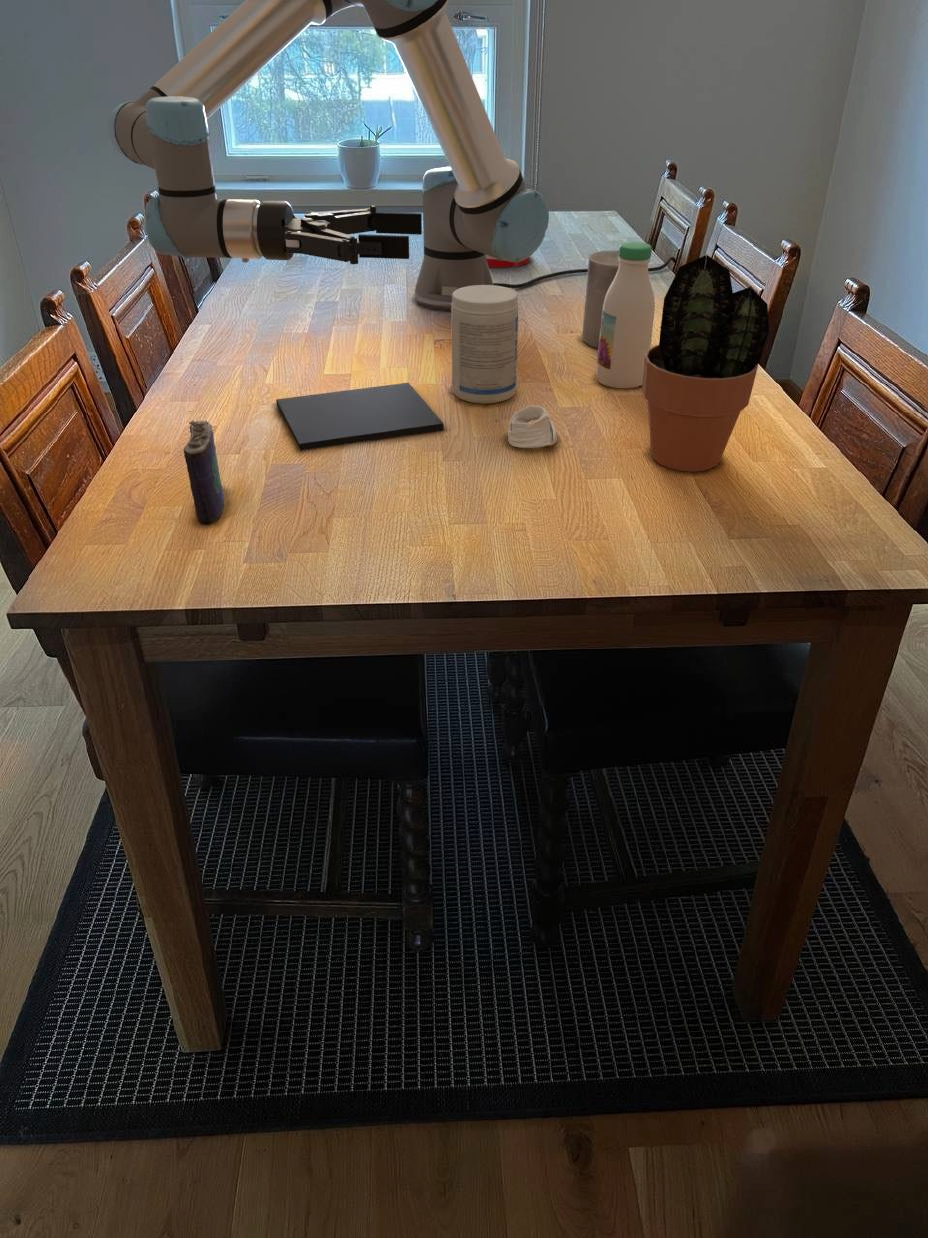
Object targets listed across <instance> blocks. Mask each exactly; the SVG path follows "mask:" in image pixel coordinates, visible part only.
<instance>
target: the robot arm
mask: <svg viewBox="0 0 928 1238" xmlns="http://www.w3.org/2000/svg"><path fill="white" fill-rule="evenodd" d="M449 2H450V0H244V1H243V2H241V4H239V6H237V8H235V9H234V10H233V11H232V12H231V13H230V14H228V16H227V17H226V18H225V19H223V21H221V22H220V23H219V24H218V25H217V26H216V27H215V28H214V29H212V30H211V32H210V33H209V34H207V35H206V36H205V37H204V38H203V39H202V40H201V41H199V43H198V44H197V45H195V46H194V47H193V48H192V49H191V50H190V51H189V52H188V53H187V54H186V55H184V56H183V57H182V58H181V59H180V60H179V61H178V62H177V63H176V64H175V65H174V66H173V67H171V68H170V69H169V70H168V71H167V72H166V73H165V74H164V75H162V77H161V78H160V79H158V80H157V81H156V82H155V83H154V84H153V85H152V86H151V87H150V88H148V89H147V90H146V91H144V93H143V94H141V95H140V96H139V97H138V98H137V99H136V100H131V101H130V100H129V101H125V102H121V103H120V104H118V105H117V106H116V107H114V108H113V110H112V111H111V112H110V114H109V117H108V121H107V132H108V136H109V139H110V141H111V143H112V145H113V147H114V149H116V151H117V152H119V153H120V154H121V155H122V156H124V157H125V158H126V159H128V160H129V161H130V162H133V163H134V164H137V165H140V166H145V167H147V168H148V167H149V168H151V169H153V170H155V176H156V180H157V187H158V196H155V197H152V198H150V199H149V200H148V202H146V206H145V209H144V217H145V222H144V227H145V233H146V236H147V240H148V243H149V244H150V246H151V247H152V249H153V250H154V251H155V252H157V253H158V254H160V255H163V256H174V257H183V258H185V259H190V258H216V259H217V258H218V259H219V258H223V259H241V262H242V263H244V264H247V263H249V261H250V260H261V259H262V258H264V259H265V260H267V261H290V260H292V258H293V256H294V254H297V255H299V254H300V255H306V256H312V257H317V258H322V259H328V260H334V261H339V262H344V263H349V264H350V265H358V264H359V258H362V259H363V258H365V259H367V258H368V259H391V260H392V259H394V260H410V236H409V235H417V236H422V235H423V238H422V239H423V258H422V262H421V265H420V269H419V273H418V276H417V280H416V283H415V287H414V300H415V301H416V303H417V304H419V305H421V306H423V307H427V308H430V309H434V310H440V311H441V310H442V311H451V307H452V306H451V303H452V294H453V292H454V291H455V290H457V289H459V288H463V287H467V286H474V285H495V286H502V287H507V288H510V289H519V288H525V287H527V286H530V285H532V284H533V285H534V284H535V283H537V282H539V281H543V280H548V279H550V278H554V277H558V276H563V275H571V274H582V273H588V268H578V269H568V270H562V271H556V272H553V273H547V274H544V275H540V276H537V277H534V278H532V279H530V280H529V281H525V282H522V283H517V284H512V283H505V282H493V277H492V274H491V271H490V267H488V263H487V260H486V255H489V256H491V257H494V258H497V259H499V260H502V261H510V262H520V261H523V260H525V259H527V258H528V257H530V258H531V256H532V255H534V253H535V252H537V250H538V249H539V248H540V246H541V244H542V243H543V241H544V239H545V237H546V232H547V229H548V227H549V221H550V210H549V205H548V203H547V200H546V199H545V197H544V196H543V195H542V194H541V193H540V192H539V191H537V190H536V189H533V188H528V186H527V184H526V182H525V179H524V176H523V175H522V172H521V169H520V166H519V164H518V163H517V162H516V161H515V160H513V159H509V158H506V157H505V155H504V152H503V150H502V148H501V145H500V142H499V139H498V137H497V135H496V132H495V131H494V128H493V126H492V123H491V120H490V118H489V116H488V113H487V110H486V107H485V106H484V103H483V101H482V98H481V96H480V94H479V91H478V88H477V85H476V83H475V81H474V78H473V76H472V74H471V71H470V69H469V67H468V64H467V62H466V59H465V57H464V54H463V52H462V49H461V47H460V44H459V42H458V40H457V37H456V34H455V32H454V30H453V28H452V25H451V22H450V20H449V18H448V15H447V8H448V5H449ZM353 7H363V8H364V10H365V11H366V14H367V17H368V18H369V21H370V23H371V25H372V27H373V29H374V31H375V33H376V35H377V37H378V38H379V39H380V40H383V41H386V42H388V43H391V44H393V47H394V48H395V52H396V54H397V55H398V58H399V59H400V60H399V61H400V62H401V63H402V66H403V68H404V70H405V73H406V75H407V77H408V79H409V81H410V83H411V86H412V88H413V90H414V92H415V94H416V96H417V98H418V101H419V103H420V106H421V107H422V109H423V111H424V114H425V116H426V118H427V120H428V123H429V124H430V125H429V126H430V127H431V129H432V132H433V133H434V136H435V138H436V140H437V142H438V144H439V146H440V148H441V151H442V153H443V155H444V157H445V159H446V161H447V164H448V166H445V167H437V168H431V169H429V170H427V171H426V172H425V173H424V175H423V178H422V189H421V197H422V213H421V212H395V211H393V212H391V211H377V206H376V205H369V207H368V208H358V209H357V208H356V209H343V210H341V209H340V210H327V211H312V210H309V211H306V212H305V213H304V217H296V216H295V214H294V210H293V207H292V205H291V204H290V203H289V202H288V201H286V200H263V201H262V202H260V201H259V200H257V199H242V198H241V199H240V198H239V199H237V198H236V199H235V198H228V199H227V198H223V199H222V198H218V196H217V187H216V182H215V174H214V173H215V172H214V166H213V157H212V150H211V149H212V148H211V140H210V133H211V132H210V127H209V125H208V119H209V118H211V117H212V116H213V115H214V114H215V113H216V112H217V111H218V110H220V109H221V108H222V107H223V106H224V105H225V104H226V103H227V102H228V101H229V100H230V99H231V98H232V97H234V96H235V95H236V94H237V93H238V92H239V91H240V90H241V89H242V88H244V86H245V85H246V84H248V82H250V81H251V80H252V79H254V77H255V76H256V75H258V73H260V71H262V70H263V69H264V68H265V67H266V66H267V65H268V64H269V63H270V62H271V61H272V60H274V59H275V58H276V57H277V56H278V55H279V54H280V53H281V52H282V51H283V50H285V48H287V47H288V45H290V44H291V43H292V42H293V41H294V40H295V39H296V38H297V37H299V35H301V33H303V32H304V31H305V30H306V29H307V28H308V27H309V26H310V25H316V26H321V25H323V24H325V22H327V20H328V19H330V18H331V17H332V16H333V15H335V14H336V13H338V12H340V11H343V10H345V9H348V8H353ZM368 232H375V233H376V234H365V233H368ZM362 233H364V234H362ZM355 234H358V236H354V235H355ZM671 261H672V262H673V264H677V263H678V261H677V259H676V258H675V257H674V256H669V257H668V258H667V259H666V261H665V262H663V264H661V265H659V266H655V267H648V273H649V272H656V271H661V270H664V269H665V268H666V267H667V266H668V265H669V264H670V263H671Z"/></svg>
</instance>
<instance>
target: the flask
mask: <svg viewBox="0 0 928 1238" xmlns="http://www.w3.org/2000/svg"><path fill="white" fill-rule="evenodd" d="M188 424H189V432H190V437H189V440H188V442H187V443H186V444H185V446H184V447H183V456H184V459H185V460H184V461H185V464H186V470H187V473H188V479H189V488H190V491H191V495H192V499H193V505H194V509H195V515H196V518H197V523H198V524H200V525H201V526H211V525H215V524H216V523H217V522H219V520H220V519H221V517H222V515H223V512H224V510H225V497H224V488H223V484H222V480H221V479H222V478H221V474H220V467H219V462H218V457H217V456H218V455H217V448H216V445H215V436H214V431H213V427H212V424H211V423H210V422H209V421H208V420H207V419H205V420H196V421H195V420H194V419H193V420H191V421H189V422H188Z"/></svg>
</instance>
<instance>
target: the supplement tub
mask: <svg viewBox="0 0 928 1238" xmlns="http://www.w3.org/2000/svg"><path fill="white" fill-rule="evenodd" d="M518 299H519V297H518V293H517V291H516V290H514V289H513V288H507V287H502V286H495V285H474V286H467V287H463V288H459V289H457V290H455V291H454V292H453V294H452V303H451V306H452V307H451V310H450V311H451V313H450V314H451V315H450V316H451V320H450V321H451V322H450V323H451V378H452V379H451V384H452V393H453V394H454V395H455V396H456V397H457V398H459V399H460V400H462V401H464V402H465V401H466V402H470V403H472V404H480V405H482V404H483V405H486V404H488V405H489V404H495V403H502V402H504V401H506V400H508V399H510V398H512V397H513V396H514V395H515V394H516V391H517V374H518V373H517V371H518V340H519V302H518V301H519V300H518Z"/></svg>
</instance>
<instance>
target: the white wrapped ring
mask: <svg viewBox="0 0 928 1238" xmlns="http://www.w3.org/2000/svg"><path fill="white" fill-rule="evenodd" d="M507 426H508V427H507V439H508V443H509V444H510V445H511V446H512V447H515V448H519V449H535V448H536V449H538V448H544V447H546V446H554V445H555V444H556V443H557V441H558V440H557V438H558V437H557V431H556V429H555V424H554V422H553V420H552V419H551V416H550V414H549V412H548V411H547V410H546V409H545V408H544V407H542V406H540V405H527V406H525V407H522V408H521V409H519V410H516V411H515V412H514V413H513V414H512V416H511V417H510V419H509V422H508V425H507Z"/></svg>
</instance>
